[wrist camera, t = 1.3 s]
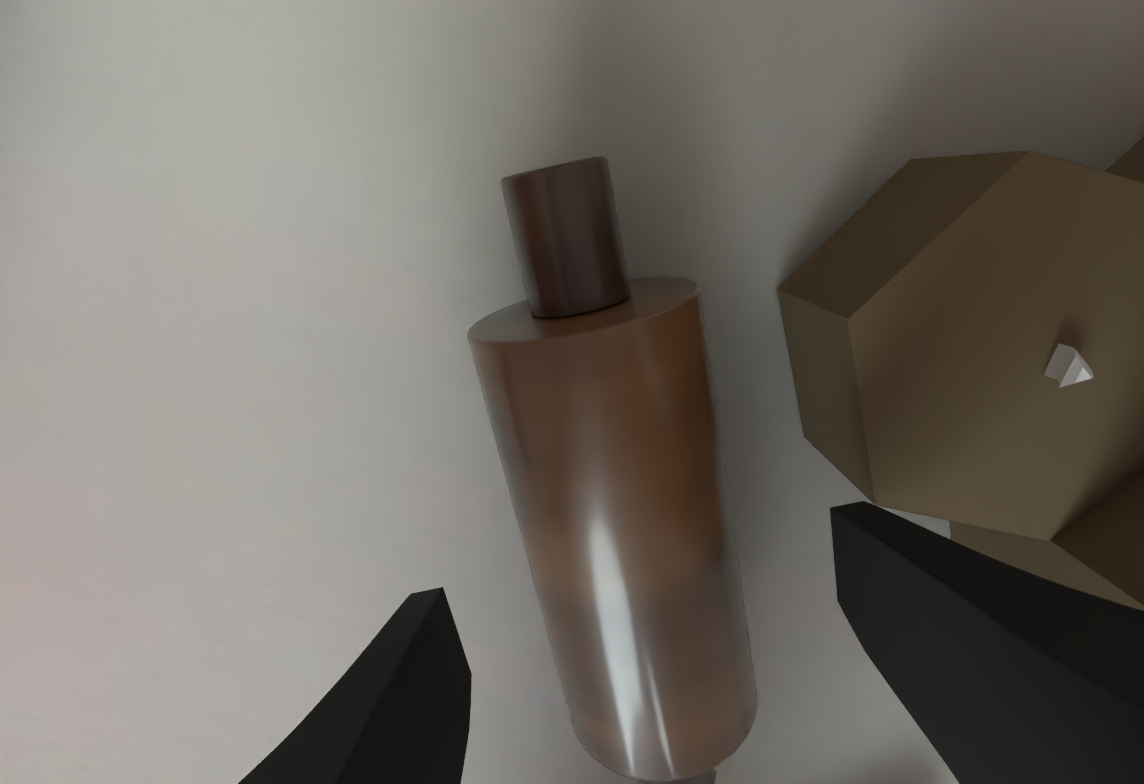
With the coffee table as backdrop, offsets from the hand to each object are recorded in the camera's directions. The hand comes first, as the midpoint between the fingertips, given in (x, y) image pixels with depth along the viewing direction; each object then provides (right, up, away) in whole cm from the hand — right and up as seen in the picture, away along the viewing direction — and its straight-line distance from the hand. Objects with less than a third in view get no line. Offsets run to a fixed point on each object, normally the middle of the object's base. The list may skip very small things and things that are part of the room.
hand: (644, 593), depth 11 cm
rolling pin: (0, +1, +2) cm, 3 cm away
